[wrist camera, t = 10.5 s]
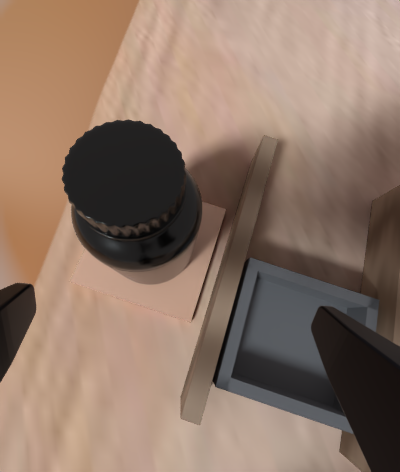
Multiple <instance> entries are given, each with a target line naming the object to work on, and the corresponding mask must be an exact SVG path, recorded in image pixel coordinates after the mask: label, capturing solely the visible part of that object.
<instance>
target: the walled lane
mask: <svg viewBox="0 0 400 472" xmlns="http://www.w3.org/2000/svg"><path fill="white" fill-rule="evenodd" d="M277 142H278V139H275V138H272V137H268V136H265V135H264V136H263V139H262V141H261V143H260V145H259V147H258V149H257V151H256V153H255V156H254V158H253V160H252V162H251V165H250V168H249V172H248V175H247V178H246V182H245V185H244V188H243V192H242V195H241V198H240V202H239V205H238V208H237V212H236V215H235V218H234V222H233V225H232V228H231V232H230V235H229V238H228V241H227V245H226V248H225V251H224V255H223V258H222V261H221V265H220V268H219V271H218V275H217V278H216V281H215V285H214V288H213V291H212V295H211V298H210V301H209V305H208V308H207V311H206V315H205V318H204V321H203V325H202V328H201V331H200V335H199V338H198V341H197V345H196V348H195V351H194V354H193V358H192V361H191V364H190V368H189V371H188V374H187V378H186V381H185V384H184V388H183V391H182V394H181V419H183V420H186V421H188V422H191V423H194V424H197V425H200V423H201V420H202V416H203V412H204V409H205V405H206V402H207V398H208V394H209V391H210V387H211V383H212V380H213V376H214V372H215V369H216V365H217V361H218V358H219V354H220V350H221V347H222V343H223V339H224V336H225V332H226V328H227V325H228V321H229V317H230V314H231V310H232V306H233V303H234V299H235V295H236V292H237V288H238V284H239V281H240V277H241V273H242V270H243V266H244V262H245V259H246V255H247V251H248V248H249V244H250V241H251V237H252V233H253V230H254V226H255V222H256V219H257V215H258V211H259V208H260V204H261V200H262V197H263V193H264V189H265V186H266V182H267V178H268V175H269V171H270V167H271V164H272V160H273V156H274V153H275V149H276V145H277ZM360 294H363V295H366V296H369V297H372V298H375V299H378V300H379V308H378V317H377V326H376V333H378V334H380V335H381V336H383V337H385V338H386V339H388V340H390V341H391V342H393V343H395V344H396V345H398V346H400V185H399V186H398V187H396V188H394V189H393V190H391V191H389V192H387V193H386V194H384V195H382V196H380V197H379V198H377V199H375V200H373V201H372V208H371V216H370V224H369V231H368V239H367V247H366V254H365V262H364V269H363V277H362V285H361V292H360ZM340 453H341V454H343V455H344V456H345V457H346V458H347V459H348V460H349V461H351V462H352V463H353V464H354V465H355V466H356V467H357V468H358V469H360V470H361V471H362V472H371V471H370V468H369V466H368V464H367V462H366V460H365V458H364V455H363V453H362V451H361V449H360V447H359V444H358V442H357V440H356V438H355V436H354V434H352V433H349V432H346V431H343V430H342V437H341V445H340Z"/></svg>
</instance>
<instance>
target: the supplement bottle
mask: <svg viewBox="0 0 400 472" xmlns="http://www.w3.org/2000/svg"><path fill="white" fill-rule="evenodd" d="M62 170H63V173H64V174H63V177H62V181H63V183H64V184H65V186H64V191H65V193H66V194H67V195H68V199H69V202H70V203H71V204H72V205H71V217H72V223H73V227H74V230H75V232H76V235H77V237H78V239H79V241H80V242H81V243H82V245H83V246H84V247H85V249H86V250H87V251H88V252H89V253H90V254H91V255H92V256H94V257H95V258H96V259H97V260H99V261H100V262H102V263H103V264H105V265H107V266H108V267H110V268H111V269H113V270H115V271H116V272H118V273H119V274H121V275H123V276H124V277H126V278H128V279H130V280H132V281H134V282H137V283H140V284H146V285H154V284H160V283H164V282H167V281H169V280H171V279H173V278H175V277H176V276H177V275H179V274H180V273H181V272H182V271H183V270H184V269H185V267H186V266H187V264H188V263H189V261H190V259H191V256H192V254H193V251H194V247H195V243H196V240H197V236H198V232H199V229H200V225H201V219H202V199H201V194H200V191H199V188H198V186H197V184H196V182H195V180H194V178H193V177H192V175H191V174H190V173H189V171H188V170H187V169H186V168H185V162H184V160H183V159H182V153H181V152H180V150H178V149H177V145H176V143H175V142H173V141H172V140H171V139H170V137H169V136H168V135H167V134H164V133H163V132H162V131H161V129H158V128H155V127H153V126H152V125H151V124H145V123H143V122H141V121H132V120H125V121H120V120H116V121H114V122H106V123H104V124H103V125H101V126H95V127H94V128H93V129H92V130H90V131H87V132H85V133H84V135H83V136H82V137H80V138H78V139H77V140H76V143H75V145H73V146H72V147H71V148H70V150H69V154H68V155H67V156H66V157H65V164H64V166H63V168H62Z"/></svg>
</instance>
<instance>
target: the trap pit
mask: <svg viewBox="0 0 400 472" xmlns="http://www.w3.org/2000/svg"><path fill="white" fill-rule="evenodd" d="M320 306H332V307H334V308H336V309H338V310H339V311H341V312H343V313H344V314H346V315H348V316H350V317H351V318H353V319H355V320H356V321H358V322H360V323H361V324H363V325H365V326H366V327H368V328H370V329H371V330H373V331H375V332H376V326H377V317H378V308H379V300H378V299H375V298H372V297H369V296H366V295H363V294H360V293H357V292H354V291H351V290H348V289H345V288H342V287H339V286H336V285H333V284H330V283H326V282H323V281H320V280H317V279H314V278H311V277H308V276H305V275H302V274H299V273H296V272H293V271H290V270H287V269H284V268H281V267H278V266H275V265H272V264H269V263H266V262H263V261H260V260H257V259H254V258H251V257H250V258H249V259H248V260H246V261H245V262H244V266H243V270H242V273H241V277H240V281H239V284H238V288H237V292H236V295H235V299H234V303H233V306H232V310H231V314H230V317H229V321H228V325H227V328H226V332H225V336H224V339H223V343H222V347H221V350H220V354H219V358H218V361H217V365H216V369H215V372H214V376H213V382H214V384H215V387H217V388H220V389H223V390H226V391H229V392H232V393H235V394H238V395H241V396H244V397H247V398H249V399H252V400H255V401H258V402H261V403H264V404H267V405H270V406H273V407H276V408H279V409H282V410H285V411H287V412H290V413H293V414H296V415H299V416H302V417H305V418H308V419H311V420H314V421H317V422H320V423H323V424H325V425H328V426H331V427H334V428H337V429H340V430H343V431H346V432H349V433H352V434H353V431H352V429H351V427H350V425H349V423H348V420H347V418H346V416H345V414H344V412H343V410H342V407H341V405H340V403H339V401H338V399H337V397H336V394H335V392H334V390H333V388H332V386H331V383H330V381H329V379H328V376H327V374H326V371H325V369H324V366H323V363H322V360H321V357H320V355H319V352H318V349H317V346H316V343H315V340H314V338H313V335H312V332H311V324H312V321H313V319H314V316H315V314H316V311H317V309H318V308H319V307H320Z"/></svg>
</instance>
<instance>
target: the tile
mask: <svg viewBox="0 0 400 472" xmlns="http://www.w3.org/2000/svg"><path fill="white" fill-rule="evenodd" d="M225 212H226V209H224V208H221V207H218V206H215V205H212V204H209V203H206V202H203V201H202V219H201V225H200V229H199V232H198V236H197V240H196V243H195V247H194V251H193V254H192V256H191V259H190V261H189V263H188V264H187V266H186V267H185V269H184V270H183V271H182V272H181V273H180V274H179V275H177V276H176V277H175V278H173V279H171V280H169V281H167V282H164V283H160V284H154V285H146V284H140V283H137V282H134V281H132V280H130V279H128V278H126V277H124V276H123V275H121V274H119V273H118V272H116V271H115V270H113V269H111V268H110V267H108V266H107V265H105V264H103V263H102V262H100V261H99V260H97V259H96V258H95V257H94V256H92V255H91V254H90V253H89V252H88V251H87V250H86V249H84V251H83V253H82V256H81V258H80V260H79V262H78V264H77V266H76V268H75V270H74V273H73V275H72V277H71V279H70V281H69V282H71V283H74V284H77V285H80V286H83V287H86V288H89V289H92V290H95V291H98V292H101V293H104V294H107V295H110V296H113V297H116V298H119V299H122V300H125V301H128V302H131V303H134V304H137V305H140V306H143V307H145V308H148V309H151V310H154V311H157V312H160V313H163V314H166V315H169V316H172V317H175V318H178V319H181V320H184V321H187V322H190V323H191V320H192V317H193V313H194V310H195V307H196V304H197V301H198V298H199V294H200V291H201V288H202V285H203V282H204V278H205V275H206V272H207V269H208V266H209V263H210V259H211V256H212V253H213V250H214V247H215V243H216V240H217V237H218V234H219V231H220V228H221V224H222V221H223V218H224V215H225Z"/></svg>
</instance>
